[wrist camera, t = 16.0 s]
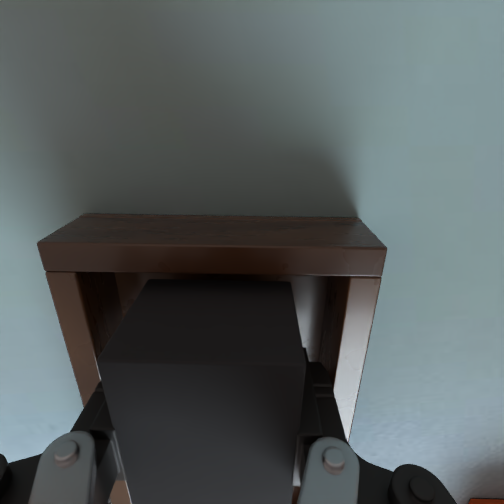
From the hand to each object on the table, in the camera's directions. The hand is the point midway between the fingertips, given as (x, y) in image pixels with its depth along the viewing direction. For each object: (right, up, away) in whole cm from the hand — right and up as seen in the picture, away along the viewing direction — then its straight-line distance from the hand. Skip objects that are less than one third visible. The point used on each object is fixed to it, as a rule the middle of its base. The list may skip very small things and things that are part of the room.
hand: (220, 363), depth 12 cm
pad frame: (0, -3, +4) cm, 5 cm away
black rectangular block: (0, 0, 0) cm, 0 cm away
